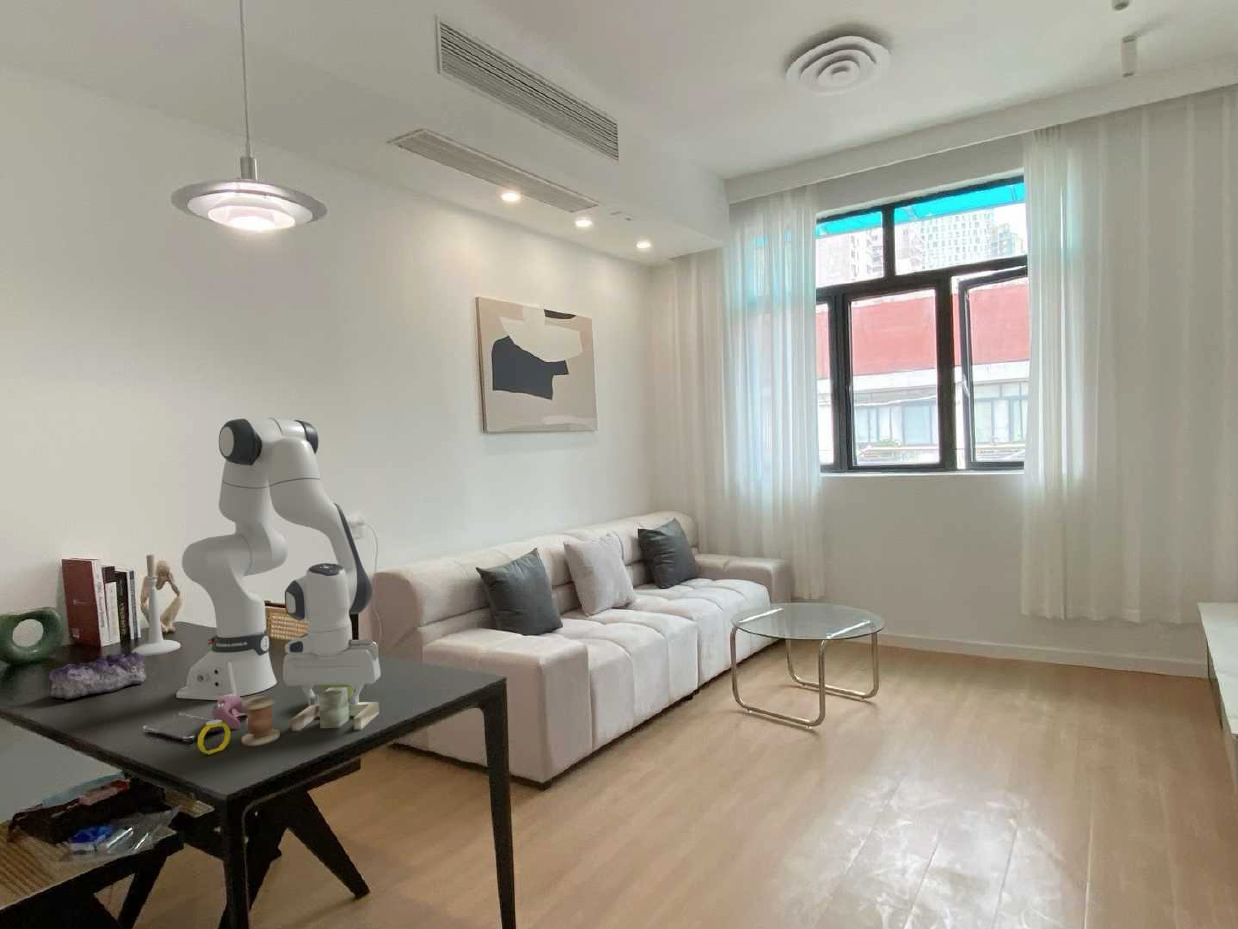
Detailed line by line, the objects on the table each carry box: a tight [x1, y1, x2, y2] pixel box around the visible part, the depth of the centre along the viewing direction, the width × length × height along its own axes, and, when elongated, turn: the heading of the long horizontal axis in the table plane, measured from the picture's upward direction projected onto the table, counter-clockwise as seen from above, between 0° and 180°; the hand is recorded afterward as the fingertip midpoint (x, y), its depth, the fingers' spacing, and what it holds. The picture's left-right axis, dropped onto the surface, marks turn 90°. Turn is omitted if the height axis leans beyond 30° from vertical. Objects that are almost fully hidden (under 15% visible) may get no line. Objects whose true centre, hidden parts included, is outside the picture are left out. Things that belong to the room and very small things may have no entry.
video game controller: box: [211, 694, 247, 730], centre depth 163 cm, size 10×5×7 cm, turn 6°
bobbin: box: [241, 694, 281, 747], centre depth 152 cm, size 7×7×8 cm
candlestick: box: [131, 554, 181, 657], centre depth 229 cm, size 13×13×30 cm
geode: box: [48, 651, 147, 700], centre depth 191 cm, size 20×12×10 cm, turn 136°
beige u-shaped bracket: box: [290, 701, 380, 732], centre depth 160 cm, size 15×10×2 cm, turn 86°
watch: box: [197, 719, 231, 755], centre depth 147 cm, size 6×3×6 cm, turn 151°
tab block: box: [318, 687, 350, 729], centre depth 159 cm, size 4×5×7 cm
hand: (334, 704), depth 160 cm, fingers open, 8 cm apart
